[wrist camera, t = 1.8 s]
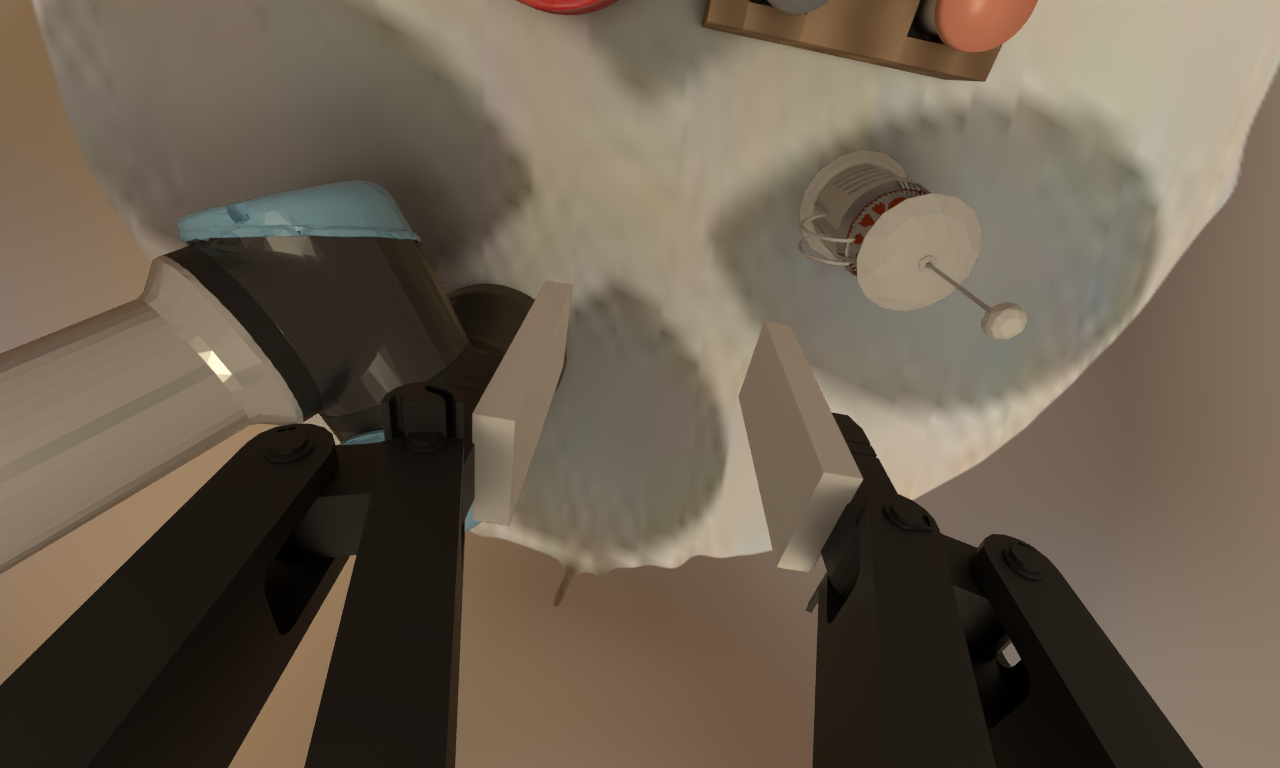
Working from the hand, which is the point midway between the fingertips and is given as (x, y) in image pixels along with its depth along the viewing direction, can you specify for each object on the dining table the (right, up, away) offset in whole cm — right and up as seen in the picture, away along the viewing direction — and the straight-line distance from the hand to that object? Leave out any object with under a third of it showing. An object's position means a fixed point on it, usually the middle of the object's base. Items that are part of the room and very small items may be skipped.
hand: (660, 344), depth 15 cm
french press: (+18, +15, +31) cm, 39 cm away
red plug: (+20, +25, +20) cm, 37 cm away
